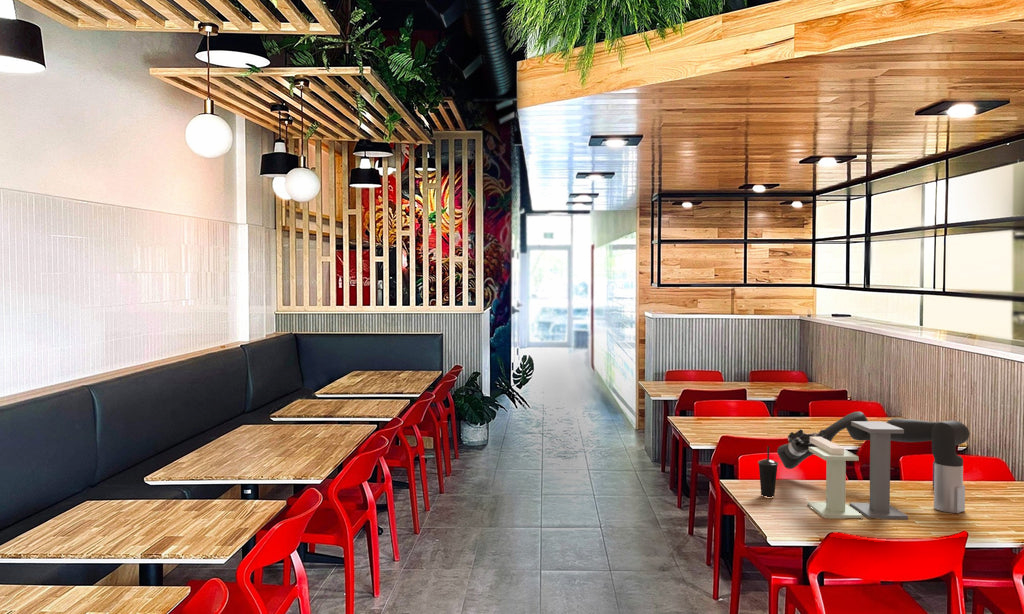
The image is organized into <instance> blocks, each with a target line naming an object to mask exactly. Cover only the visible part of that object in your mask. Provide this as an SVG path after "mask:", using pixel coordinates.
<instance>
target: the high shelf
mask: <svg viewBox="0 0 1024 614" xmlns="http://www.w3.org/2000/svg"><path fill="white" fill-rule="evenodd" d="M886 422H887V421H875V420H874V421H872V420H871V421H870V420H868V421H851V425H852V426H854V427H857V428H859V429H861V430H864V431H866V432H868V433H870V440H869V445H870V448H869V450H870V451H869V502H849V506H850V507H852V508H853V509H855V510H856V511H857V512H860V514H863V517H865V516H866V517H865V518H867V519H868V518H879V519H878V520H909V515H908V514H905V513H904V512H903V511H901V510H899V509H898V508H896V507H894V506H893V505H891V504H890V503H891V502H890V501H891V499H890V498H891V433H900V434H904V429H902V428H899V427H896V426H894V425H891V424H888V423H886Z"/></svg>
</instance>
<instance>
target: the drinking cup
mask: <svg viewBox="0 0 1024 614" xmlns="http://www.w3.org/2000/svg"><path fill="white" fill-rule="evenodd" d="M766 454H767V455H766V457H767V458H763V459H760V460H758V461H757V463H758V472H759V483H760V494H761V495H763V496H767V497H772V496H774V497H775V492H776V484H777V483H776V481H777V474H778V473H777V471H778V466H779V462H777V461H776V460H774V459H770V446H768V445H767V451H766ZM761 495H760V496H761Z"/></svg>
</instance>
